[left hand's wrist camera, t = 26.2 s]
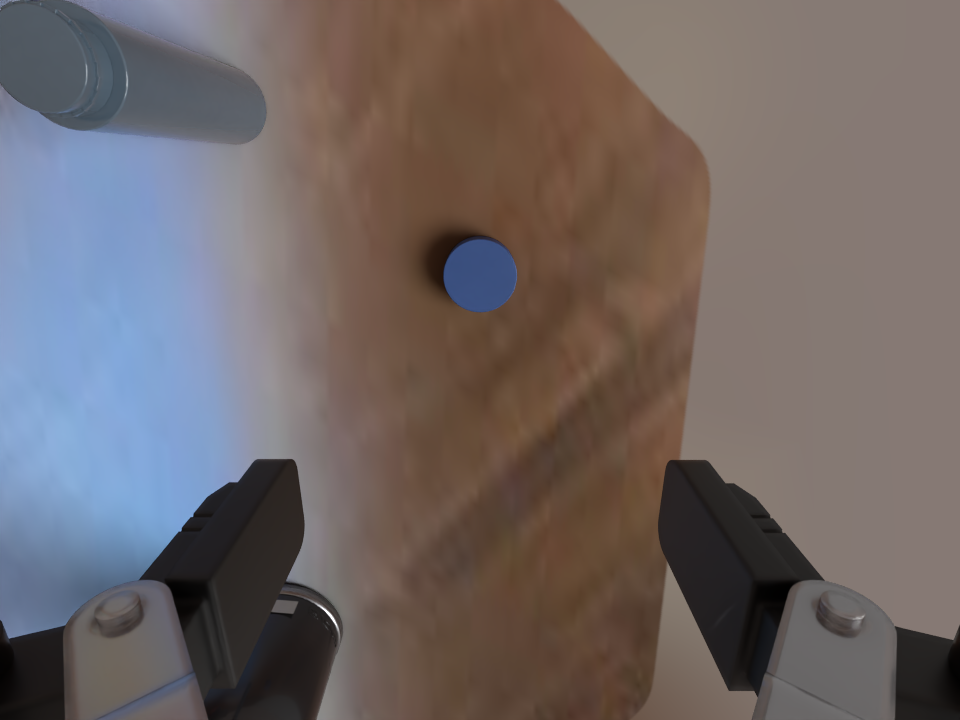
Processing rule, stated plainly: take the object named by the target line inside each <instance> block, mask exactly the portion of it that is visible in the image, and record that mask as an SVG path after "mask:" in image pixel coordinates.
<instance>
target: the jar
mask: <svg viewBox="0 0 960 720" xmlns="http://www.w3.org/2000/svg"><path fill="white" fill-rule="evenodd" d="M0 83H1V85H2V86H3V87H4V89H5V90H6V91H7V92H8V93H9V94H10V95H11V96H12V97H13V98H15V99H16V100H17V101H18V102H20V103H21V104H23V105H25V106H26V107H28V108H30V109H33V110H36V111H38V112H40V113H41V114H42V115H43V116H45V117H46V118H48V119H49V120H51V121H52V122H54V123H56V124H58V125H60V126H63V127H66V128H69V129H73V130H80V131H91V132H102V133H113V134H125V135H136V136H147V137H158V138H169V139H180V140H191V141H202V142H213V143H224V144H235V145H236V144H244V143H247V142H249V141H251V140H253V139H254V138H255V137H256V136H257V135H258V134H259V133H260V132H261V130H262V128H263V126H264V123H265V119H266V104H265V100H264V97H263V94H262V92H261V90H260V88H259V87H258V85H257V84H256V82H255V81H254V80H253V79H252V78H251V77H250V76H249V75H247V74H246V73H244V72H243V71H241V70H239V69H236V68H234V67H231V66H229V65H226V64H224V63H221V62H219V61H216V60H214V59H211V58H209V57H206V56H204V55H201V54H199V53H196V52H194V51H191V50H189V49H187V48H184V47H182V46H179V45H177V44H174V43H172V42H169V41H167V40H164V39H162V38H159V37H157V36H154V35H152V34H149V33H147V32H144V31H142V30H139V29H137V28H134V27H132V26H129V25H127V24H124V23H122V22H119V21H117V20H114V19H112V18H110V17H107V16H105V15H102V14H100V13H97V12H95V11H92V10H90V9H87V8H85V7H82V6H80V5H77V4H75V3H72V2H69V1H64V0H43V1H38V2H35V1H29V0H21V1H15V2H12V1H11V2H9V3H7V4H6V5H4V6H3V7H1V11H0Z"/></svg>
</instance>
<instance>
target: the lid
mask: <svg viewBox="0 0 960 720" xmlns="http://www.w3.org/2000/svg"><path fill="white" fill-rule="evenodd" d="M443 278H444V284H445V288H446V290H447V292H448V294H449V296H450V297H451V299H452V300H453V301H454V302H455V303H456V304H458V305H459V306H461V307H462V308H464V309H466V310H469V311H473V312H487V311H491V310H494V309H496V308H498V307H500V306H501V305H503V304H504V303H505V302H506V301H507V300H508V299H509V298H510V296H511V295H512V293H513V291H514V288H515V286H516V281H517V270H516V266H515V263H514V260H513V257H512V255H511V253H510V252H509V250H508V249H507V248H506V247H505V246H504V245H503V244H502V243H500V242H499V241H497V240H495V239H493V238H490V237H486V236H474V237H470V238H467V239H465V240H463V241H461V242H460V243H458V244H457V245H456V246H455V247H454V248H453V249H452V251H451V252H450V254H449V256H448V258H447V261H446V263H445V267H444V272H443Z"/></svg>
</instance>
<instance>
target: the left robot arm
mask: <svg viewBox="0 0 960 720" xmlns="http://www.w3.org/2000/svg"><path fill="white" fill-rule="evenodd" d="M658 533H659V540H660V544H661V548H662V551H663V553H664V555H665V557H666V559H667V562H668V564H669V566H670V568H671V570H672V572H673V574H674V576H675V578H676V580H677V583H678V585H679V587H680V589H681V591H682V593H683V595H684V597H685V599H686V602H687V604H688V606H689V608H690V610H691V612H692V614H693V616H694V618H695V620H696V623H697V625H698V627H699V629H700V631H701V633H702V635H703V637H704V639H705V642H706V644H707V646H708V648H709V650H710V652H711V654H712V656H713V658H714V660H715V663H716V665H717V667H718V669H719V671H720V673H721V675H722V677H723V679H724V682H725V684H726V686H727V688H728V690H729V691H755V693H756V695H757V697H758V699H757V703H756V706H755V710H754V713H753V717H752V720H960V626H959V628H958V631H957V633H956V636H955V638H954V640H950V639H946V638H942V637H937V636H933V635H929V634H925V633H920V632H916V631H911V630H908V629H903V628H899V627H896V626H894V624H893V623H892V621H891V619H890V618H889V617H888V616H887V614H886V613H885V612H884V611H883V610H882V609H881V608H880V607H879V606H878V605H876V604H875V603H874V602H872V601H871V600H870V599H868V598H866V597H865V596H863V595H861V594H859V593H858V592H856V591H854V590H852V589H849V588H847V587H845V586H842V585H839V584H836V583H832V582H827V581H825V580H824V579H823V578H822V577H821V576H820V574H819V573H818V572H817V571H816V570H815V568H814V567H813V566H812V565H811V564H810V562H809V561H808V560H807V559H806V558H805V556H804V555H803V554H802V553H801V552H800V550H799V549H798V548H797V547H796V546H795V544H794V543H793V542H792V541H791V540H790V538H789V537H788V536H787V535H786V533H782V529H781V528H780V526H779V525H778V524H777V523H776V521H775V520H774V519H773V518H770V514H769V513H768V512H767V511H766V509H765V508H764V507H763V506H762V505H761V504H760V502H759V501H758V500H757V499H756V498H755V497H753V496H752V495H751V494H749V493H748V492H746V491H745V490H743V489H742V488H740V487H738V486H737V485H735V484H731V483H729V484H728V483H725V482H724V481H723V480H722V478H721V477H720V476H719V475H718V473H717V472H716V471H715V469H714V468H713V467H712V465H711V464H710V463H709V462H708V461H706V460H670V461H669V462H668V463H667V466H666V470H665V476H664V484H663V491H662V498H661V505H660V513H659V520H658ZM303 537H304V514H303V507H302V499H301V492H300V485H299V477H298V470H297V466H296V463H295V461H294V460H293V459H257V460H255V461H254V462H253V463H252V465H251V466H250V467H249V469H248V470H247V471H246V472H245V474H244V475H243V476H242V478H241V479H240V480H239V482H229V483H228V484H226V485H225V486H223V487H222V488H220V489H219V490H217V491H216V492H214V493H213V494H211V495H210V496H208V497H207V498H206V499H205V500H204V502H203V503H202V504H201V505H200V507H199V508H198V509H197V510H196V511H195V513H194V515H193V517H190V519H189V520H188V521H187V522H186V523H185V525H184V526H183V527H182V531H181V532H178V533H177V534H176V536H175V537H174V538H173V539H172V540H171V542H170V543H169V544H168V545H167V547H166V548H165V549H164V550H163V551H162V553H161V554H160V555H159V556H158V557H157V559H156V560H155V561H154V562H153V563H152V565H151V566H150V567H149V568H148V570H147V571H146V572H145V573H144V574H143V576H142V577H141V578H140V579H139V580H138V581H132V582H128V583H124V584H121V585H118V586H115V587H113V588H111V589H108V590H106V591H104V592H102V593H100V594H98V595H97V596H95V597H94V598H92V599H90V600H89V601H88V602H86V603H85V604H84V605H82V606H81V607H80V608H79V609H78V610H77V611H76V612H75V613H74V614H73V616H72V617H71V618H70V619H69V621H68V623H67V624H66V625H65V626H62V627H57V628H53V629H49V630H44V631H40V632H36V633H32V634H27V635H23V636H19V637H15V638H10V639H9V638H8V636H7V633H6V631H5V628H4V626H3V624H2V621H1V620H0V720H316V719H317V716H318V713H319V709H320V706H321V703H322V699H323V696H324V692H325V689H326V686H327V682H328V679H329V676H330V672H331V669H332V666H333V662H334V659H335V656H336V654H337V652H338V649H339V646H340V643H341V639H342V635H343V626H342V621H341V618H340V616H339V614H338V612H337V611H336V609H335V608H334V607H333V605H332V604H331V603H330V602H329V601H328V600H326V599H325V598H324V597H322V596H321V595H319V594H318V593H316V592H314V591H312V590H309V589H307V588H304V587H301V586H296V585H290V584H284V583H285V581H286V579H287V577H288V575H289V573H290V571H291V568H292V566H293V564H294V562H295V560H296V558H297V556H298V554H299V551H300V549H301V546H302V542H303Z"/></svg>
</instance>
